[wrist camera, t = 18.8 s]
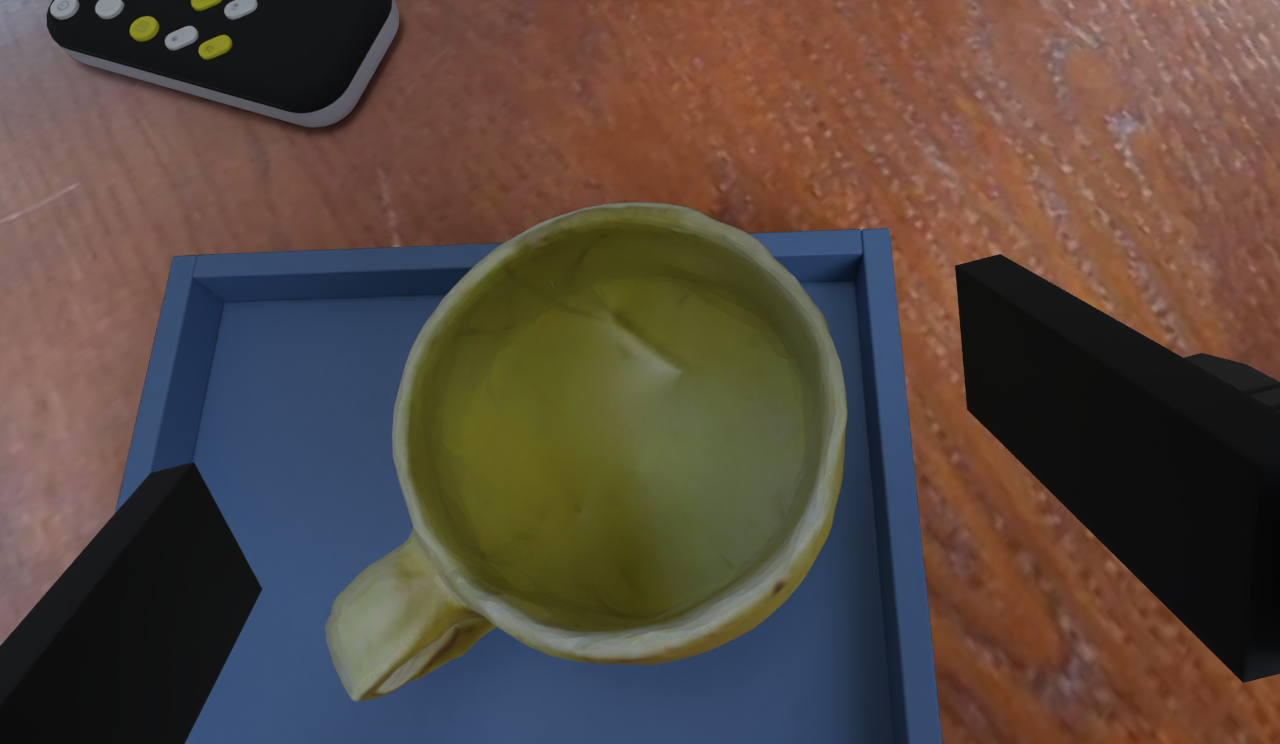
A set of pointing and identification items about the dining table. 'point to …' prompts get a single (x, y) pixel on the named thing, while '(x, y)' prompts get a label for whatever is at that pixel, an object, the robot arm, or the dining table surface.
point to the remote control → (237, 49)
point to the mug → (603, 451)
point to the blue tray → (380, 522)
